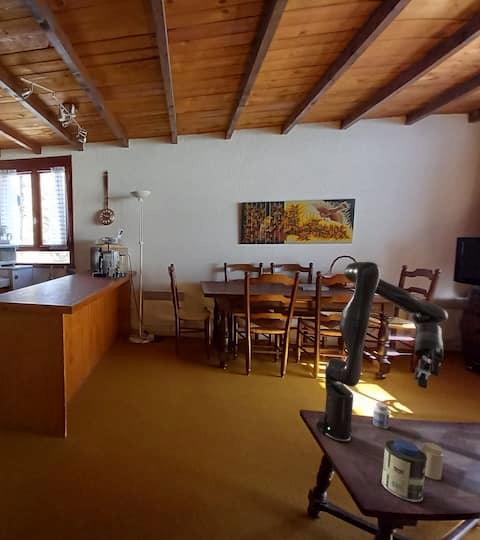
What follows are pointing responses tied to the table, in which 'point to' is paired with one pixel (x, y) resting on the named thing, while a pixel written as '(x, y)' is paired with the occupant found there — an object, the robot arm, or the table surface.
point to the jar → (433, 460)
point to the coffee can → (404, 473)
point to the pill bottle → (381, 415)
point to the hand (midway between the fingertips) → (428, 380)
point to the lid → (406, 447)
